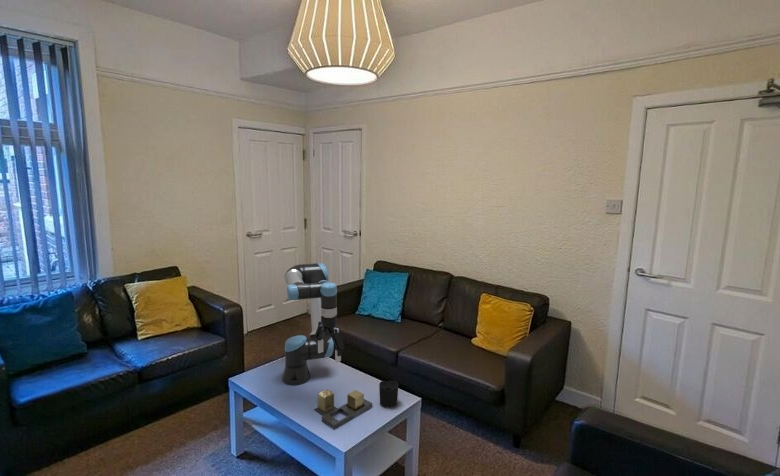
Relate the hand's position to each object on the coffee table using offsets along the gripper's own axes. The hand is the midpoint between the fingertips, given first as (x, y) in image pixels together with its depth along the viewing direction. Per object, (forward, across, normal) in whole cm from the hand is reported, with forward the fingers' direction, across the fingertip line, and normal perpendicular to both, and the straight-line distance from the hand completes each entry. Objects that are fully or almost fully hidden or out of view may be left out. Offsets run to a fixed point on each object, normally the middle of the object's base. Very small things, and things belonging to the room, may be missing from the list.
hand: (329, 356), depth 191 cm
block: (+24, +13, +5) cm, 28 cm away
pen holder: (+24, +21, +20) cm, 38 cm away
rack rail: (+24, +13, 0) cm, 28 cm away
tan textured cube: (+24, +4, -5) cm, 24 cm away
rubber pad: (+24, +4, -5) cm, 25 cm away
